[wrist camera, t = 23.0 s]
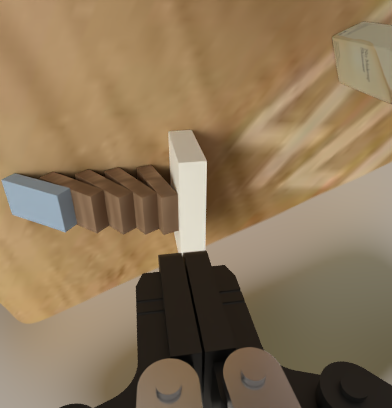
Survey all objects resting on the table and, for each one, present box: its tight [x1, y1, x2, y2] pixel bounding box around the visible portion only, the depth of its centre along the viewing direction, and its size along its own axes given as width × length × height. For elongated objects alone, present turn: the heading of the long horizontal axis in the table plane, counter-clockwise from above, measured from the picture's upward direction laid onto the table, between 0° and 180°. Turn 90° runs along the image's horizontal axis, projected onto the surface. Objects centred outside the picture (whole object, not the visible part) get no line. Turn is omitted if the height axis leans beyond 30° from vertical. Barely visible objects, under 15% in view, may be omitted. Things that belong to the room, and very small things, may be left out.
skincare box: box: [332, 22, 392, 104], centre depth 39 cm, size 6×4×12 cm
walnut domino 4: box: [137, 165, 179, 235], centre depth 44 cm, size 2×5×9 cm, turn 0°
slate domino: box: [2, 173, 77, 232], centre depth 43 cm, size 2×5×9 cm
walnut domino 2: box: [75, 169, 136, 235], centre depth 44 cm, size 2×5×9 cm
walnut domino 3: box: [104, 167, 159, 235], centre depth 44 cm, size 2×5×9 cm, turn 0°
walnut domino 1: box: [39, 172, 109, 233], centre depth 43 cm, size 2×5×9 cm
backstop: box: [168, 130, 207, 256], centre depth 44 cm, size 3×14×10 cm, turn 0°
